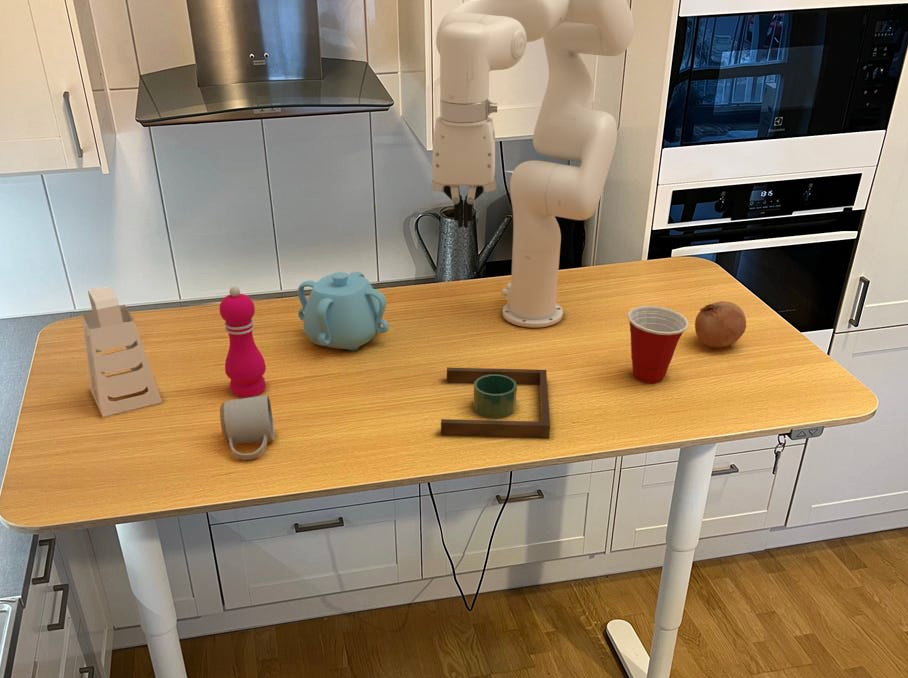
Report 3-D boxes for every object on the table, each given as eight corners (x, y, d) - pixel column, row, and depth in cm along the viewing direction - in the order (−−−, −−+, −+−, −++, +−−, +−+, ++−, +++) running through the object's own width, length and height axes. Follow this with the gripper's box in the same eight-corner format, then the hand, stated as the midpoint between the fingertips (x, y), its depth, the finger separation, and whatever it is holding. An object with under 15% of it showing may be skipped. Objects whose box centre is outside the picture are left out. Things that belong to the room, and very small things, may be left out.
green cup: (464, 407, 163) (465, 384, 161) (493, 392, 168) (494, 370, 165) (495, 422, 159) (496, 399, 156) (524, 407, 163) (525, 384, 161)
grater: (102, 416, 162) (75, 311, 150) (91, 390, 170) (64, 288, 158) (162, 402, 166) (140, 298, 154) (148, 377, 174) (126, 276, 162)
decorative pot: (394, 350, 182) (392, 285, 174) (313, 362, 178) (307, 296, 170) (372, 316, 194) (369, 254, 187) (297, 327, 190) (291, 264, 183)
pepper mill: (275, 382, 171) (262, 281, 160) (256, 401, 166) (242, 297, 154) (240, 377, 173) (225, 276, 162) (221, 395, 168) (204, 292, 156)
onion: (698, 362, 183) (683, 323, 177) (707, 331, 188) (693, 292, 182) (747, 356, 177) (733, 315, 171) (755, 324, 182) (742, 284, 177)
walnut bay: (440, 435, 156) (440, 422, 155) (447, 379, 172) (447, 367, 170) (549, 438, 155) (550, 425, 153) (545, 381, 171) (546, 369, 169)
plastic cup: (680, 393, 167) (690, 332, 160) (619, 387, 169) (626, 327, 162) (679, 365, 175) (688, 306, 168) (621, 360, 177) (628, 302, 170)
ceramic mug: (226, 429, 158) (219, 390, 153) (274, 425, 159) (269, 386, 154) (224, 464, 150) (217, 424, 145) (275, 460, 150) (269, 420, 146)
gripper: (511, 105, 148) (507, 217, 158) (418, 104, 149) (420, 216, 159) (512, 117, 142) (507, 233, 152) (414, 116, 143) (417, 232, 153)
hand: (463, 224), depth 156 cm, fingers closed
